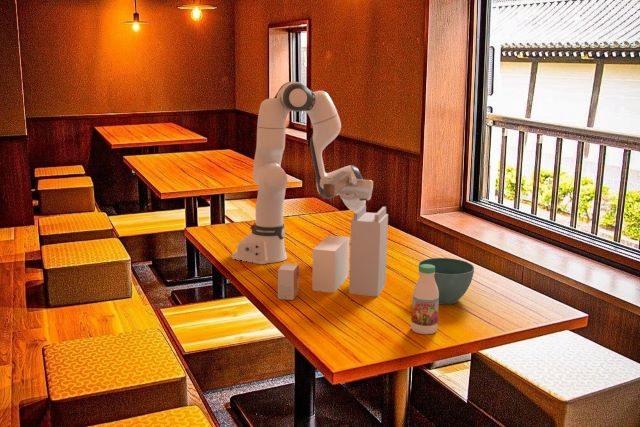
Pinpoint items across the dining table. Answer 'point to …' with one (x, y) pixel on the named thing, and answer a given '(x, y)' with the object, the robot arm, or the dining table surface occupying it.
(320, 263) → the block
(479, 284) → the dining table surface
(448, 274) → the green bowl
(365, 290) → the stand
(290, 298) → the small box
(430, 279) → the milk bottle
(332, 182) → the rod
